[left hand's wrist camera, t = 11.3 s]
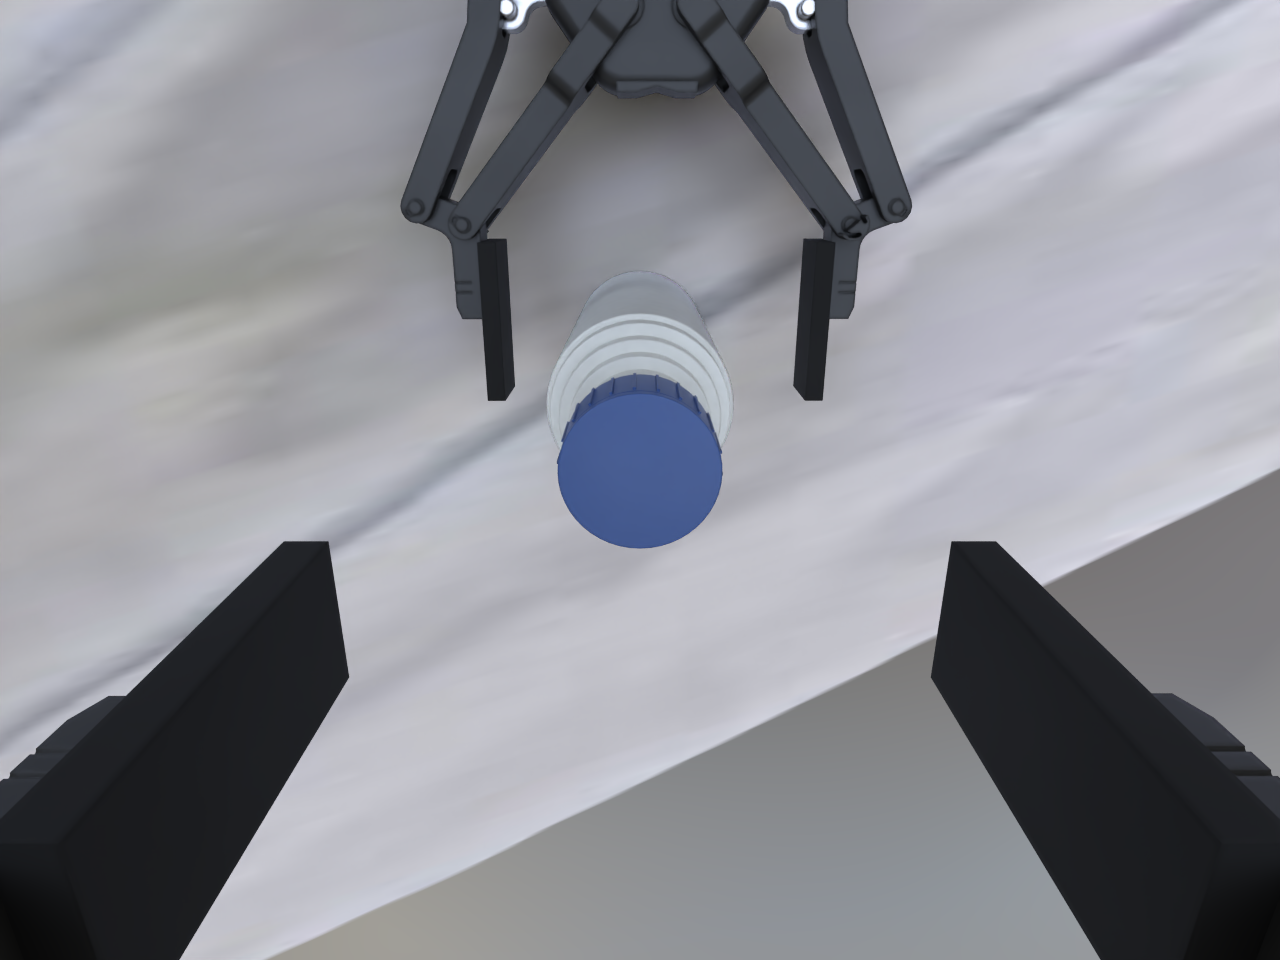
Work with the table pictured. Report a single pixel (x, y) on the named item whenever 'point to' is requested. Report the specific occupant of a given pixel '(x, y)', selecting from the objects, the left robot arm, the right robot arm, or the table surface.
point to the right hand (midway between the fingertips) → (654, 394)
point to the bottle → (639, 348)
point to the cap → (640, 462)
